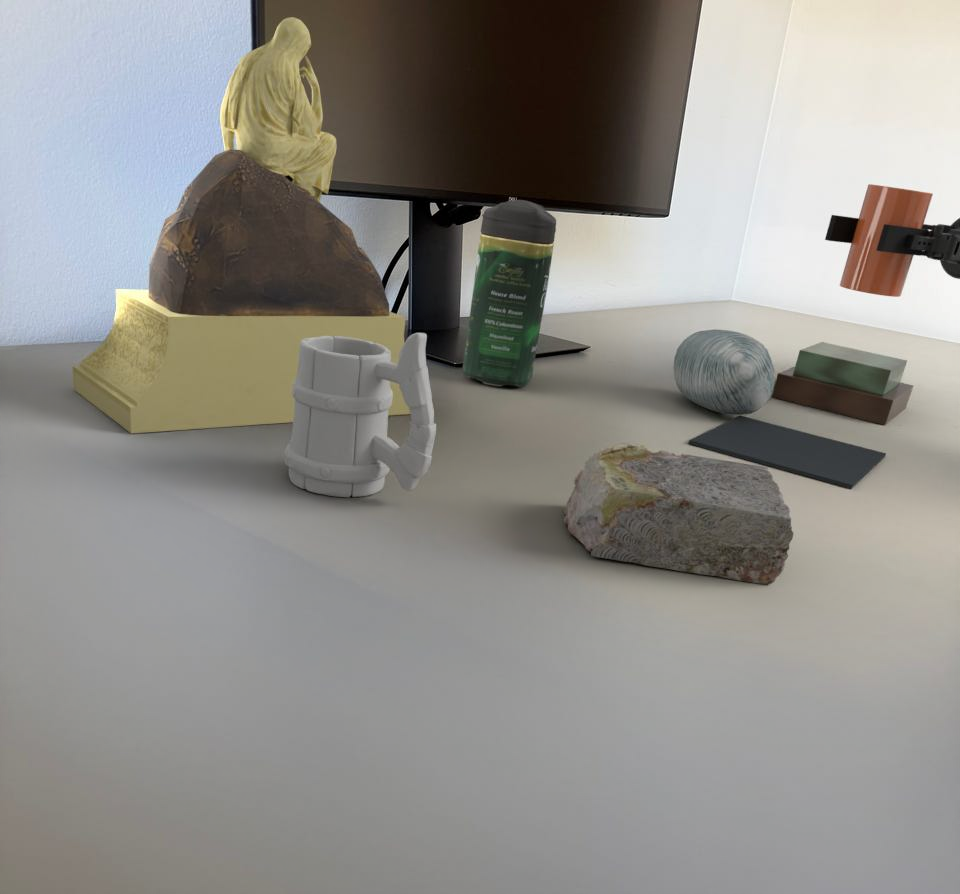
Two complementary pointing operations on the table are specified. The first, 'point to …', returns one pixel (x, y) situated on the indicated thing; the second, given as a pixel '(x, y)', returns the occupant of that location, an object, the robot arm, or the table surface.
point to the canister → (864, 261)
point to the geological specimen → (681, 513)
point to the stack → (846, 382)
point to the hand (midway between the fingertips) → (856, 232)
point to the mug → (358, 416)
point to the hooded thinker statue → (244, 270)
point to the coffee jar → (509, 293)
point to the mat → (791, 450)
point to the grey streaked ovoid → (724, 371)
